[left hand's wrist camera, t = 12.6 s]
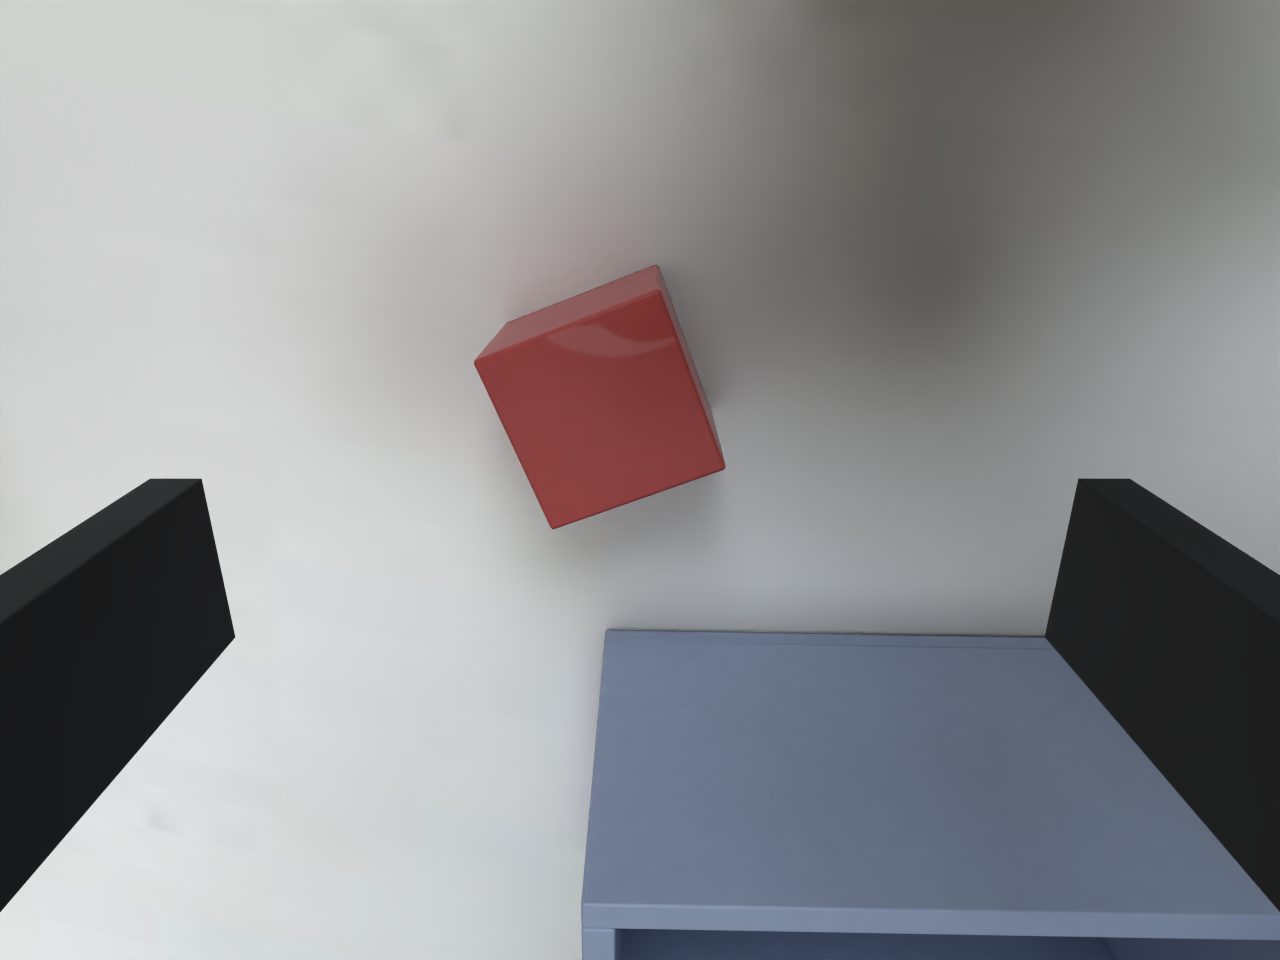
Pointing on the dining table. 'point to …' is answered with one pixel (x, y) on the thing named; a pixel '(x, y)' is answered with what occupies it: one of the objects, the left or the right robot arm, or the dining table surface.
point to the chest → (889, 810)
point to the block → (602, 399)
